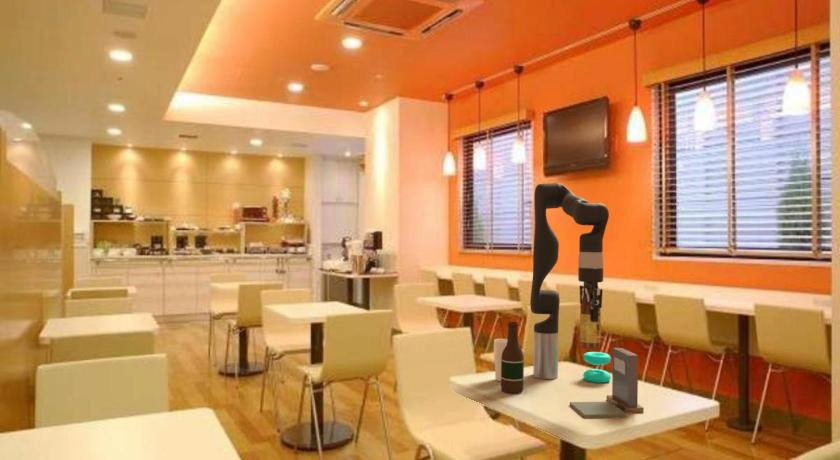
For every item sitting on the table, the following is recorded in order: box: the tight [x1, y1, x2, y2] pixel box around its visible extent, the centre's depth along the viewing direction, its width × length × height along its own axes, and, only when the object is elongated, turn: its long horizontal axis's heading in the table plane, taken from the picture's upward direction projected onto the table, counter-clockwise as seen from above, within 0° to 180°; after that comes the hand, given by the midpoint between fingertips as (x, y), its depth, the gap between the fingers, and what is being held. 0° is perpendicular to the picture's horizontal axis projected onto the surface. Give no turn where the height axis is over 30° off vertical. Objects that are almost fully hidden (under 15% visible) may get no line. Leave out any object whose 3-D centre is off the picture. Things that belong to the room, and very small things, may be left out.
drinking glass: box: [493, 338, 508, 382], centre depth 220 cm, size 7×7×15 cm
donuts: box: [582, 351, 612, 384], centre depth 222 cm, size 10×10×10 cm
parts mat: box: [569, 401, 627, 419], centre depth 183 cm, size 13×13×1 cm
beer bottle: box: [500, 321, 525, 395], centre depth 205 cm, size 8×8×24 cm
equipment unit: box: [606, 347, 644, 414], centre depth 189 cm, size 14×6×18 cm, turn 5°
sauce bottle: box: [579, 283, 602, 350], centre depth 184 cm, size 7×6×20 cm
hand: (590, 319), depth 184 cm, fingers closed on sauce bottle, 6 cm apart
